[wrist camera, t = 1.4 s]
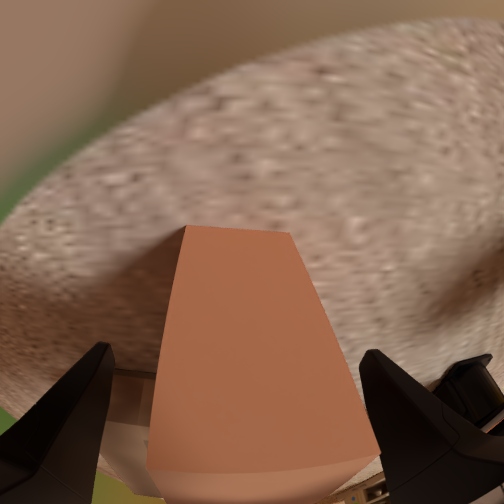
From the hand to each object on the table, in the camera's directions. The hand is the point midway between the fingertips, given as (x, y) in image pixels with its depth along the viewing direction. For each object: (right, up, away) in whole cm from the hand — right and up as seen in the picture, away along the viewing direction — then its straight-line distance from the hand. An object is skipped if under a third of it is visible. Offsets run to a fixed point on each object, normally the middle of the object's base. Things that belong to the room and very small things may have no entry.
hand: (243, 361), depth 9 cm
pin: (-1, +3, +5) cm, 5 cm away
